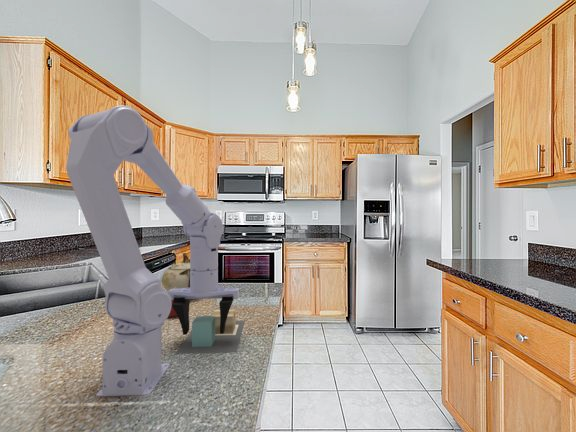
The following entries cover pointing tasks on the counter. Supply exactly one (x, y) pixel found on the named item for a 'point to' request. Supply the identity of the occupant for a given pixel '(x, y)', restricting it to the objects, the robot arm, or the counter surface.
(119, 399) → the counter surface
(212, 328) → the teal block
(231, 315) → the maple block
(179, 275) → the cream rounded vessel
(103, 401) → the counter surface
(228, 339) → the mat
